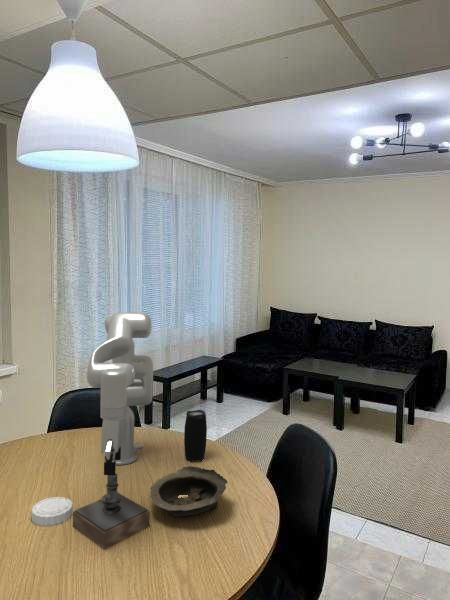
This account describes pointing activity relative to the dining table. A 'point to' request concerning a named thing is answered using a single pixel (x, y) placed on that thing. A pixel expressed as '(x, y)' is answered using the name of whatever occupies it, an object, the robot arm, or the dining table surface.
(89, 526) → the walnut base
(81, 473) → the dining table surface
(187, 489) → the stone bowl
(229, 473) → the dining table surface
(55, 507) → the mooncake
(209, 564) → the dining table surface
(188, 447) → the portable speaker
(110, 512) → the black chess piece
